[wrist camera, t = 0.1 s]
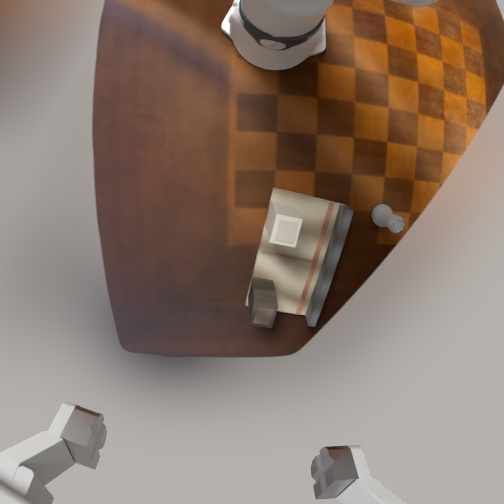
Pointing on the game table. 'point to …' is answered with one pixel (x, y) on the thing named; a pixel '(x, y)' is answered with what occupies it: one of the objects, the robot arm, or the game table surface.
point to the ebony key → (262, 303)
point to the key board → (304, 254)
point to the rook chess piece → (387, 218)
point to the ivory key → (283, 224)
